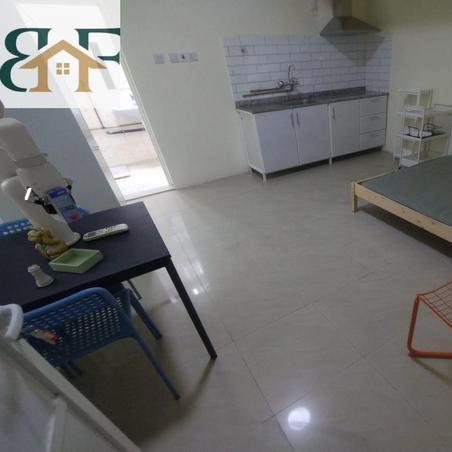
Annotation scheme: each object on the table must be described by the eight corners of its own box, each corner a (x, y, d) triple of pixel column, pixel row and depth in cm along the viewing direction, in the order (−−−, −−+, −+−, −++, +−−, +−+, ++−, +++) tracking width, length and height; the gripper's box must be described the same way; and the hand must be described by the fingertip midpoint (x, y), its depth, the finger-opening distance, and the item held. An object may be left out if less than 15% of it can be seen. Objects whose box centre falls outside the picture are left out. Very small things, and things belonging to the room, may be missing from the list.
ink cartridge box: (85, 216, 103) (61, 181, 95) (68, 224, 99) (42, 188, 91) (70, 211, 107) (46, 177, 99) (54, 219, 103) (27, 183, 95)
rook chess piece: (35, 286, 101) (20, 269, 97) (49, 277, 105) (36, 261, 100) (42, 288, 100) (28, 272, 95) (56, 280, 103) (43, 264, 99)
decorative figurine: (39, 259, 115) (15, 229, 107) (61, 247, 121) (39, 218, 113) (56, 262, 112) (31, 232, 104) (76, 250, 119) (55, 220, 110)
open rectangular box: (53, 270, 108) (48, 263, 106) (76, 255, 116) (71, 248, 114) (82, 273, 106) (77, 266, 104) (104, 257, 114) (99, 250, 112)
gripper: (48, 152, 99) (76, 197, 109) (-9, 171, 84) (29, 221, 94) (65, 152, 97) (92, 198, 107) (11, 172, 83) (47, 222, 93)
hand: (62, 208), depth 101 cm, fingers closed on ink cartridge box, 6 cm apart
